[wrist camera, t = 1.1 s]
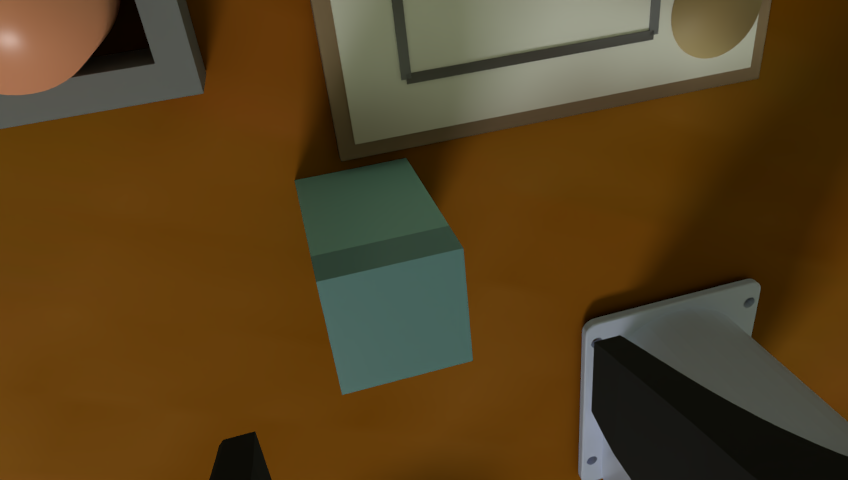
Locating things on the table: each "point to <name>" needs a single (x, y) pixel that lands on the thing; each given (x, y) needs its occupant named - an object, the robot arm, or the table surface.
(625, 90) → the clipboard with paper sheet
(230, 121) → the table surface
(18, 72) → the button
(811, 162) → the table surface
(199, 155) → the table surface
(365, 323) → the teal banded box
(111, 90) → the button housing
